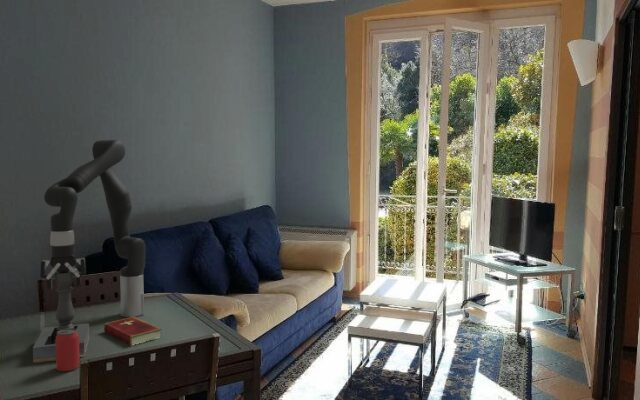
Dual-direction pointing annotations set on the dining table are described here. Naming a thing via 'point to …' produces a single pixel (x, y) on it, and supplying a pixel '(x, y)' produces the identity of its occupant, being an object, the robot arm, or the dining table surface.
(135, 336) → the hardcover book
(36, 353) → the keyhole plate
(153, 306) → the dining table surface
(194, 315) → the dining table surface
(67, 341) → the beer can
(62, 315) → the candle holder
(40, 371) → the dining table surface
